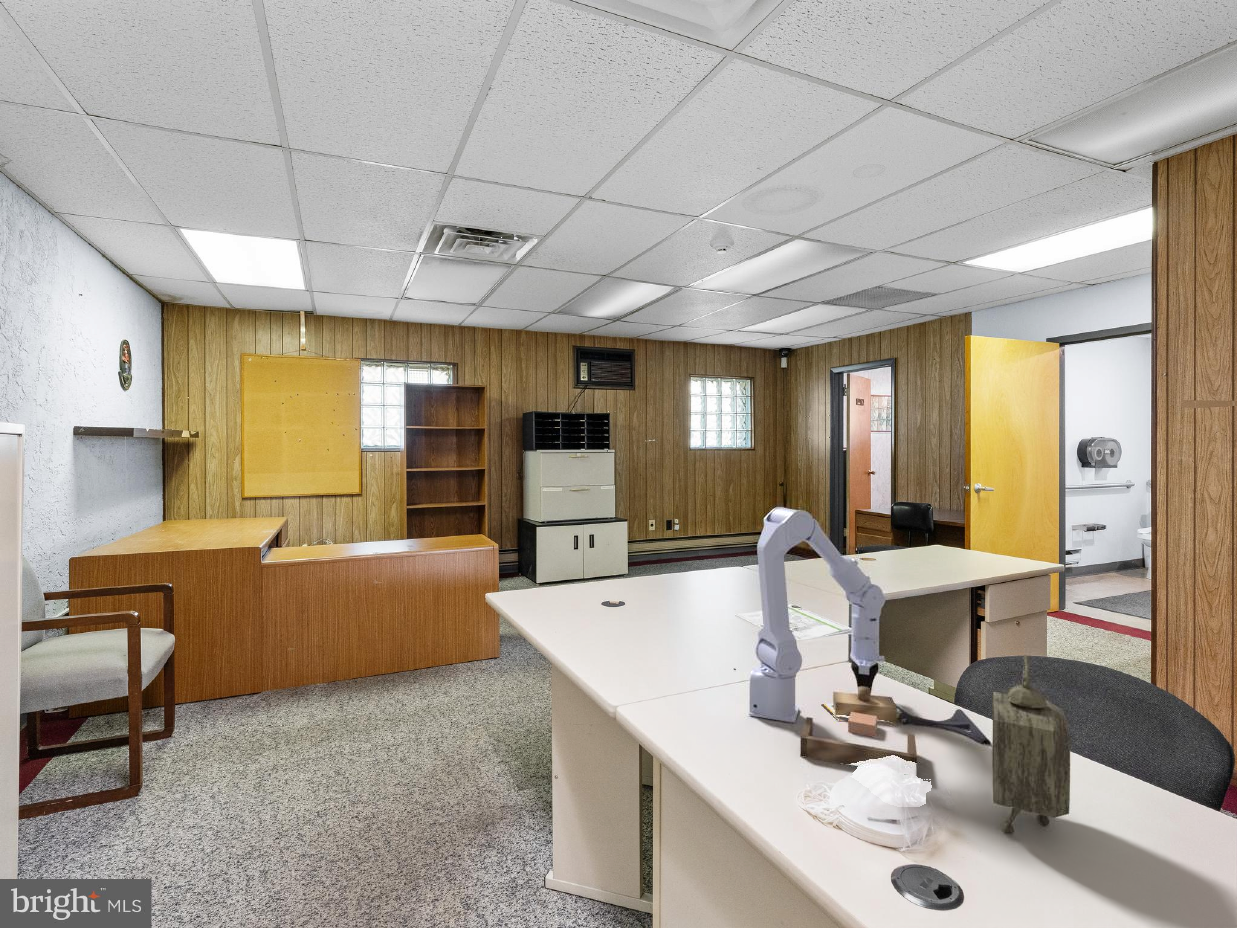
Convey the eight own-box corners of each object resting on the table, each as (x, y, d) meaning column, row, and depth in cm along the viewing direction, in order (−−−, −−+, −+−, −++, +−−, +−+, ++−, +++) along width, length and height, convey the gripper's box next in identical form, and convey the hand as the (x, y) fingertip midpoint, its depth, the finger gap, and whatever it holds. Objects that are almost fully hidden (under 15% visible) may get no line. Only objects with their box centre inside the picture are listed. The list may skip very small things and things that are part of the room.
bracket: (889, 711, 136) (889, 699, 136) (963, 716, 133) (963, 703, 133) (907, 742, 122) (908, 728, 121) (990, 748, 119) (990, 734, 119)
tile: (848, 733, 124) (848, 720, 124) (850, 723, 129) (850, 711, 129) (875, 738, 122) (875, 725, 122) (876, 728, 127) (876, 716, 127)
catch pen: (800, 756, 114) (800, 737, 114) (806, 734, 123) (806, 716, 123) (917, 777, 107) (917, 757, 107) (914, 753, 115) (914, 734, 115)
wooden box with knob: (835, 718, 131) (835, 690, 131) (833, 707, 137) (833, 680, 137) (896, 724, 128) (897, 696, 128) (891, 713, 134) (891, 685, 134)
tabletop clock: (992, 791, 103) (993, 640, 102) (1058, 806, 98) (1060, 649, 98) (993, 837, 90) (995, 666, 90) (1070, 858, 86) (1072, 678, 85)
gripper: (884, 647, 130) (884, 711, 130) (884, 629, 144) (883, 687, 144) (848, 643, 133) (848, 705, 133) (851, 625, 146) (851, 683, 146)
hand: (864, 696), depth 139 cm, fingers closed
